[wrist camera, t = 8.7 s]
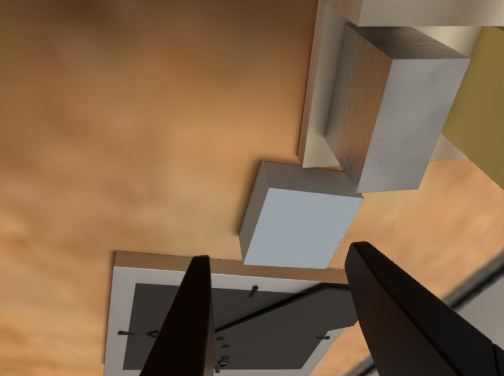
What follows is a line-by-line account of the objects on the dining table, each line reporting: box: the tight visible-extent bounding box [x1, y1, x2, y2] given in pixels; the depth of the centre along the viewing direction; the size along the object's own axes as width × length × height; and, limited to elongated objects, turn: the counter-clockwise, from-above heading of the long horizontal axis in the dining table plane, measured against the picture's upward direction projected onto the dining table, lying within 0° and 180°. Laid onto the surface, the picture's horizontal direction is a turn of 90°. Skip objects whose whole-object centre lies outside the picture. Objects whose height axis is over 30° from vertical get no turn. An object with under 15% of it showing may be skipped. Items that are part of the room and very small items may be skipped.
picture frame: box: [103, 251, 358, 376], centre depth 32 cm, size 16×3×21 cm
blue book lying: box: [239, 161, 364, 269], centre depth 24 cm, size 6×6×3 cm
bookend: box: [324, 23, 471, 193], centre depth 16 cm, size 3×6×5 cm, turn 178°
